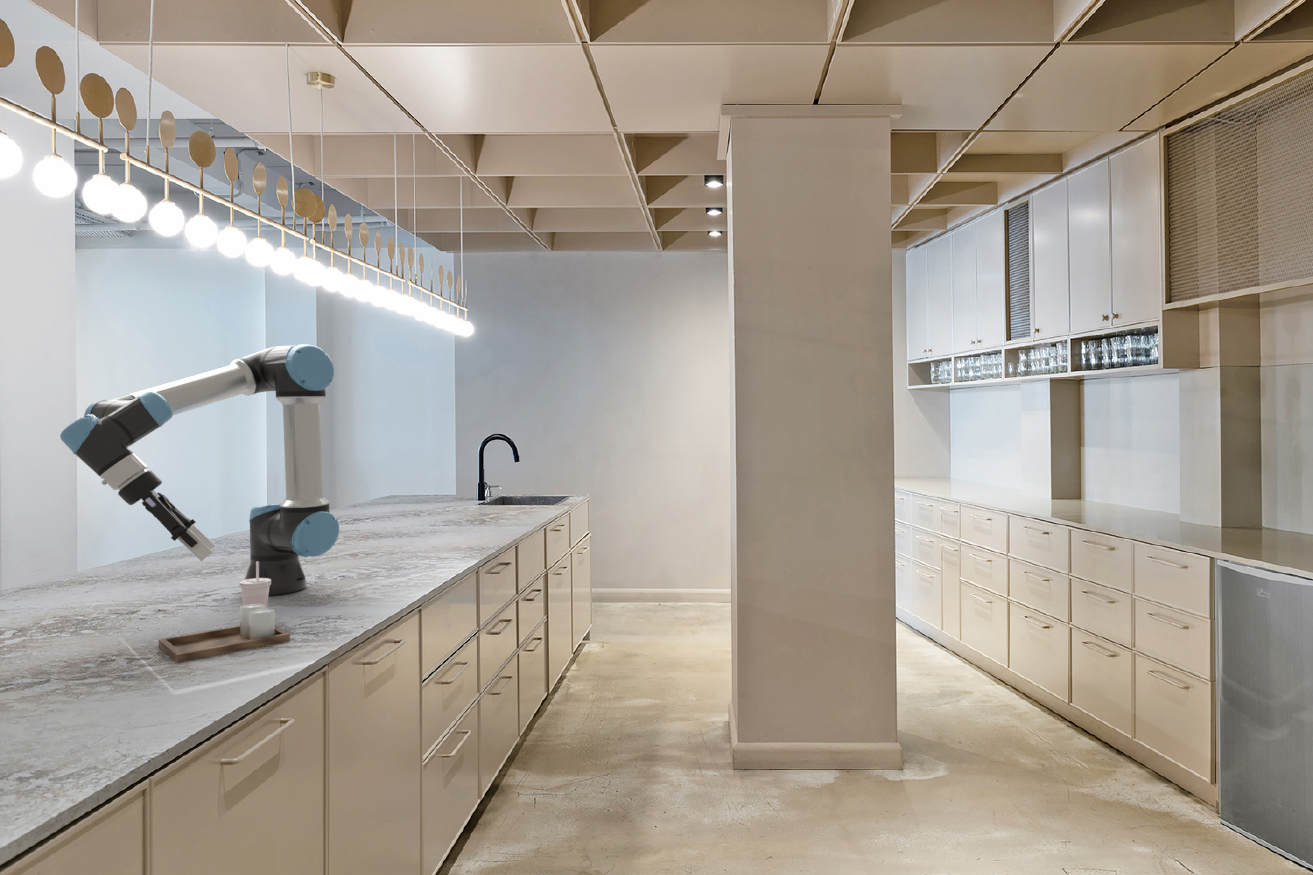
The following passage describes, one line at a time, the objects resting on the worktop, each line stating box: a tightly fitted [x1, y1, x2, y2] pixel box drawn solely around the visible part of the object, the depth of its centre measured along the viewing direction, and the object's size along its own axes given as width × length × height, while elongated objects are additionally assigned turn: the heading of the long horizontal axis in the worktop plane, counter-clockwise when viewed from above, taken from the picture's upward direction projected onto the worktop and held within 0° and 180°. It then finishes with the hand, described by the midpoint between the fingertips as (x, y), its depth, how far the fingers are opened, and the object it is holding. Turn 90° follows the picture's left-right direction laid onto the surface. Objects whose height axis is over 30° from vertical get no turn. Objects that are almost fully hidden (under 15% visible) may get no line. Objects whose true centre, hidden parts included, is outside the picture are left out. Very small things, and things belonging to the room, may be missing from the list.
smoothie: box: [238, 561, 271, 609], centre depth 170 cm, size 6×6×14 cm
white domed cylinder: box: [249, 608, 276, 640], centre depth 155 cm, size 5×5×6 cm
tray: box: [158, 624, 291, 663], centre depth 153 cm, size 20×14×2 cm
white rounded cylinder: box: [239, 604, 265, 638], centre depth 159 cm, size 5×5×6 cm
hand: (208, 553), depth 165 cm, fingers open, 13 cm apart
